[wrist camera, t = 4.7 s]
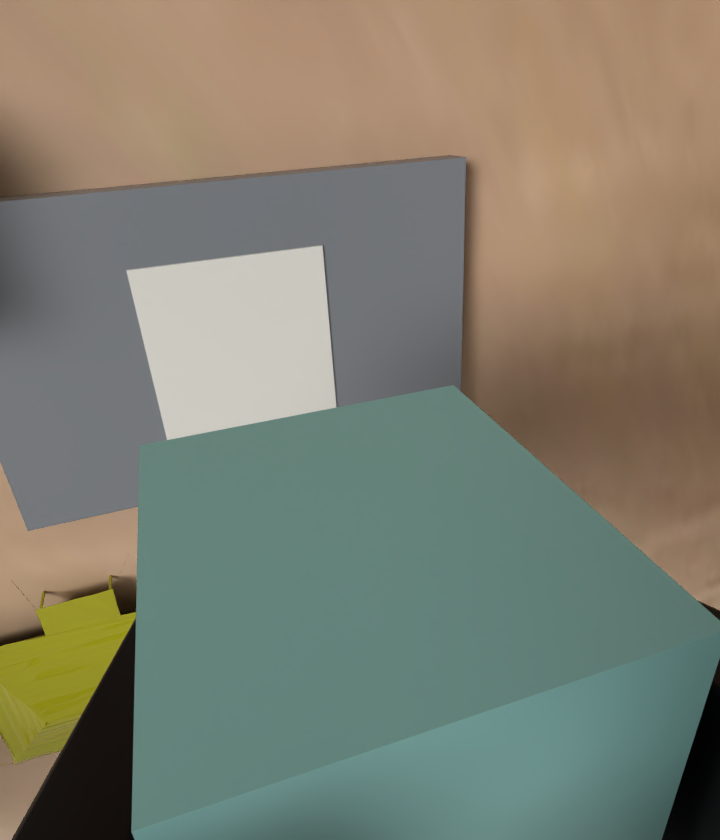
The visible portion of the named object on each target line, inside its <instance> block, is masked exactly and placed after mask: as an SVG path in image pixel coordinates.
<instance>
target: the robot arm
mask: <svg viewBox="0 0 720 840" xmlns="http://www.w3.org/2000/svg"><path fill="white" fill-rule="evenodd" d="M698 602H699V601H698ZM699 603H700V604H702V605H703V606H704V607H705V608H706V609H707V610H708V611H709V612H711V613H712V614H713V615H714V616H715V617H716V618H717V619H718V620H720V611H719V610H717V609H715V608H713V607H711V606H708V605H706V604H704V603H702V602H699ZM135 640H136V618H135V620H134V622H133V623H132V625H131V627H130V629H129V631H128V632H127V634H126V636H125V638H124V640H123V641H122V643H121V645H120V647H119V648H118V650H117V652H116V654H115V656H114V657H113V659H112V661H111V663H110V665H109V666H108V668H107V670H106V672H105V673H104V675H103V677H102V679H101V681H100V682H99V684H98V686H97V688H96V690H95V691H94V693H93V695H92V697H91V699H90V700H89V702H88V704H87V706H86V707H85V709H84V711H83V713H82V715H81V716H80V718H79V720H78V722H77V724H76V725H75V727H74V729H73V731H72V733H71V734H70V736H69V738H68V740H67V741H66V743H65V745H64V747H63V749H62V750H61V752H60V754H59V756H58V758H57V759H56V761H55V763H54V765H53V767H52V768H51V770H50V772H49V774H48V775H47V777H46V779H45V781H44V783H43V784H42V786H41V788H40V790H39V792H38V793H37V795H36V797H35V799H34V801H33V802H32V804H31V806H30V808H29V809H28V811H27V813H26V815H25V817H24V818H23V820H22V822H21V824H20V826H19V827H18V829H17V831H16V833H15V834H14V836H13V838H12V840H135V839H134V837H133V835H132V832H131V824H132V778H133V732H134V686H135ZM662 840H720V659H719V662H718V665H717V668H716V671H715V674H714V677H713V681H712V684H711V687H710V690H709V693H708V696H707V699H706V702H705V706H704V709H703V712H702V715H701V718H700V721H699V724H698V727H697V731H696V734H695V737H694V740H693V743H692V746H691V749H690V752H689V756H688V759H687V762H686V765H685V768H684V771H683V774H682V777H681V781H680V784H679V787H678V790H677V793H676V796H675V799H674V802H673V806H672V809H671V812H670V815H669V818H668V821H667V824H666V827H665V831H664V834H663V837H662Z"/></svg>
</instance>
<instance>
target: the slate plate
mask: <svg viewBox="0 0 720 840" xmlns="http://www.w3.org/2000/svg"><path fill="white" fill-rule="evenodd" d="M465 179H466V157H460V156H452V155H448V156H437V157H427V158H416V159H405V160H395V161H384V162H374V163H363V164H352V165H342V166H331V167H320V168H310V169H299V170H289V171H278V172H267V173H257V174H246V175H235V176H225V177H214V178H204V179H193V180H182V181H172V182H161V183H150V184H140V185H129V186H119V187H108V188H97V189H87V190H76V191H65V192H55V193H44V194H34V195H23V196H12V197H2V198H0V462H1V464H2V467H3V469H4V472H5V474H6V477H7V479H8V482H9V484H10V487H11V489H12V492H13V494H14V497H15V499H16V502H17V504H18V507H19V509H20V512H21V514H22V517H23V520H24V522H25V525H26V527H27V530H28V531H30V530H34V529H39V528H43V527H48V526H52V525H57V524H61V523H66V522H70V521H75V520H79V519H84V518H88V517H93V516H97V515H102V514H106V513H111V512H115V511H120V510H124V509H129V508H133V507H138V502H139V456H140V445H144V444H149V443H154V442H160V441H165V440H170V439H175V438H180V437H186V436H191V435H196V434H201V433H206V432H212V431H217V430H222V429H227V428H232V427H237V426H243V425H248V424H253V423H258V422H263V421H269V420H274V419H279V418H284V417H289V416H295V415H300V414H305V413H310V412H315V411H321V410H326V409H331V408H336V407H341V406H347V405H352V404H357V403H362V402H367V401H373V400H378V399H383V398H388V397H393V396H398V395H404V394H409V393H414V392H419V391H424V390H430V389H435V388H440V387H445V386H450V385H454V386H455V387H456V388H458V389H459V390H460V391H461V366H462V319H463V273H464V226H465Z"/></svg>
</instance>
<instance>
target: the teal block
mask: <svg viewBox="0 0 720 840" xmlns="http://www.w3.org/2000/svg"><path fill="white" fill-rule="evenodd" d="M719 659H720V620H718V619H717V618H716V617H715V616H714V615H713V614H712V613H711V612H709V611H708V610H707V609H706V608H705V607H704V606H703V605H702V604H700V603H699V602H698V601H697V600H696V599H695V598H694V597H692V596H691V595H690V594H689V593H688V592H687V591H686V590H685V589H683V588H682V587H681V586H680V585H679V584H678V583H677V582H676V581H674V580H673V579H672V578H671V577H670V576H669V575H668V574H667V573H665V572H664V571H663V570H662V569H661V568H660V567H659V566H657V565H656V564H655V563H654V562H653V561H652V560H651V559H650V558H648V557H647V556H646V555H645V554H644V553H643V552H642V551H641V550H639V549H638V548H637V547H636V546H635V545H634V544H633V543H632V542H630V541H629V540H628V539H627V538H626V537H625V536H624V535H622V534H621V533H620V532H619V531H618V530H617V529H616V528H615V527H613V526H612V525H611V524H610V523H609V522H608V521H607V520H606V519H604V518H603V517H602V516H601V515H600V514H599V513H598V512H596V511H595V510H594V509H593V508H592V507H591V506H590V505H589V504H587V503H586V502H585V501H584V500H583V499H582V498H581V497H580V496H578V495H577V494H576V493H575V492H574V491H573V490H572V489H571V488H569V487H568V486H567V485H566V484H565V483H564V482H563V481H561V480H560V479H559V478H558V477H557V476H556V475H555V474H554V473H552V472H551V471H550V470H549V469H548V468H547V467H546V466H545V465H543V464H542V463H541V462H540V461H539V460H538V459H537V458H536V457H534V456H533V455H532V454H531V453H530V452H529V451H528V450H526V449H525V448H524V447H523V446H522V445H521V444H520V443H519V442H517V441H516V440H515V439H514V438H513V437H512V436H511V435H510V434H508V433H507V432H506V431H505V430H504V429H503V428H502V427H500V426H499V425H498V424H497V423H496V422H495V421H494V420H493V419H491V418H490V417H489V416H488V415H487V414H486V413H485V412H484V411H482V410H481V409H480V408H479V407H478V406H477V405H476V404H475V403H473V402H472V401H471V400H470V399H469V398H468V397H467V396H465V395H464V394H463V393H462V392H461V391H460V390H459V389H458V388H456V387H455V386H454V385H450V386H445V387H440V388H435V389H430V390H424V391H419V392H414V393H409V394H404V395H398V396H393V397H388V398H383V399H378V400H373V401H367V402H362V403H357V404H352V405H347V406H341V407H336V408H331V409H326V410H321V411H315V412H310V413H305V414H300V415H295V416H289V417H284V418H279V419H274V420H269V421H263V422H258V423H253V424H248V425H243V426H237V427H232V428H227V429H222V430H217V431H212V432H206V433H201V434H196V435H191V436H186V437H180V438H175V439H170V440H165V441H160V442H154V443H149V444H144V445H140V456H139V502H138V548H137V594H136V640H135V686H134V732H133V778H132V824H131V832H132V835H133V837H134V839H135V840H662V837H663V834H664V831H665V827H666V824H667V821H668V818H669V815H670V812H671V809H672V806H673V802H674V799H675V796H676V793H677V790H678V787H679V784H680V781H681V777H682V774H683V771H684V768H685V765H686V762H687V759H688V756H689V752H690V749H691V746H692V743H693V740H694V737H695V734H696V731H697V727H698V724H699V721H700V718H701V715H702V712H703V709H704V706H705V702H706V699H707V696H708V693H709V690H710V687H711V684H712V681H713V677H714V674H715V671H716V668H717V665H718V662H719Z"/></svg>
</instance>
